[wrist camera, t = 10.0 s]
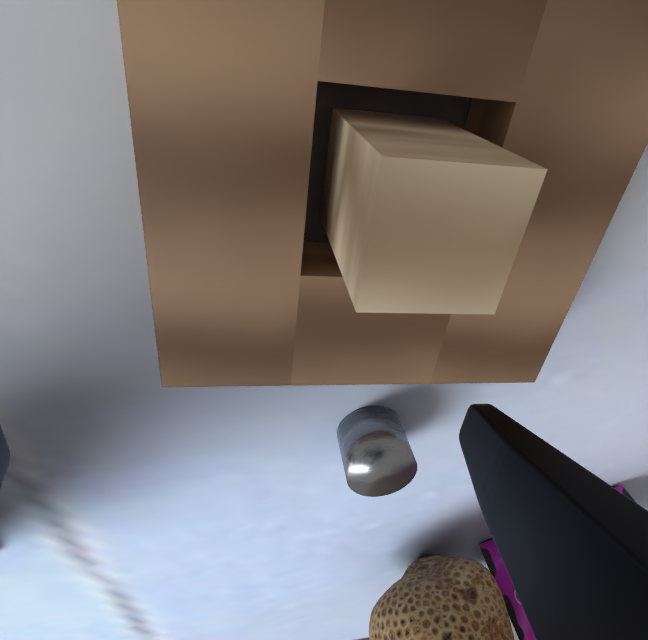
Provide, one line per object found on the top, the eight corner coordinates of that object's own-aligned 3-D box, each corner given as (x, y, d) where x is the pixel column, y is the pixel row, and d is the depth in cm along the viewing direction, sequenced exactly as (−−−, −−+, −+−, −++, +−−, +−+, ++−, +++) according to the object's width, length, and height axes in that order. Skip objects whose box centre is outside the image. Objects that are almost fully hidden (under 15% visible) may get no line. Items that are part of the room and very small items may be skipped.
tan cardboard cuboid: (416, 223, 18) (494, 314, 13) (320, 218, 18) (356, 312, 12) (440, 118, 16) (547, 169, 10) (332, 107, 15) (382, 156, 10)
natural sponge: (345, 594, 35) (376, 772, 26) (372, 526, 30) (420, 716, 22) (452, 587, 37) (512, 751, 28) (493, 522, 32) (578, 696, 24)
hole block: (503, 343, 23) (534, 382, 20) (172, 341, 20) (161, 386, 17) (667, -71, 14) (758, -92, 11) (124, -178, 11) (89, -237, 9)
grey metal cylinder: (393, 450, 26) (408, 494, 24) (333, 452, 25) (342, 498, 23) (406, 404, 24) (424, 447, 22) (341, 405, 23) (352, 450, 21)
